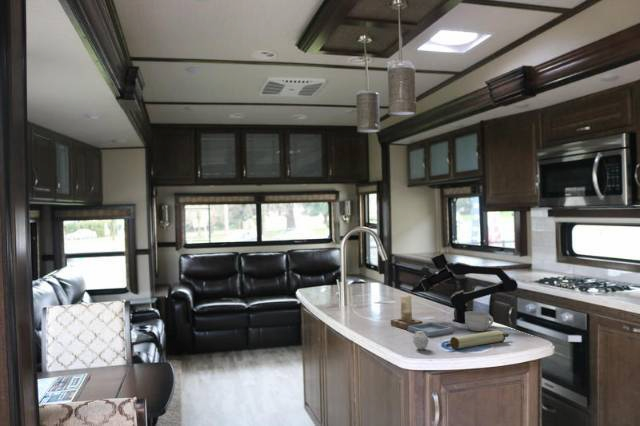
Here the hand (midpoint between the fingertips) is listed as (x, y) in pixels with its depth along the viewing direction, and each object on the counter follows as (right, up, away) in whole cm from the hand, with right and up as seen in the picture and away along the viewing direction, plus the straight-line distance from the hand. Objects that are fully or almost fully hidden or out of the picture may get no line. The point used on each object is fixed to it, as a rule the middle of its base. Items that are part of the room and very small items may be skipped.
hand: (412, 289), depth 249 cm
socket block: (-5, -15, -14) cm, 21 cm away
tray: (+3, -15, -27) cm, 30 cm away
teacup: (+26, -15, -26) cm, 40 cm away
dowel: (-5, -15, -14) cm, 21 cm away
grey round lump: (-7, -15, -54) cm, 56 cm away
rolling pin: (+17, -15, -50) cm, 55 cm away
